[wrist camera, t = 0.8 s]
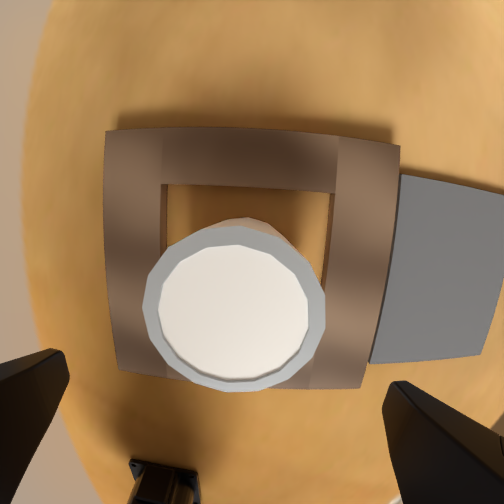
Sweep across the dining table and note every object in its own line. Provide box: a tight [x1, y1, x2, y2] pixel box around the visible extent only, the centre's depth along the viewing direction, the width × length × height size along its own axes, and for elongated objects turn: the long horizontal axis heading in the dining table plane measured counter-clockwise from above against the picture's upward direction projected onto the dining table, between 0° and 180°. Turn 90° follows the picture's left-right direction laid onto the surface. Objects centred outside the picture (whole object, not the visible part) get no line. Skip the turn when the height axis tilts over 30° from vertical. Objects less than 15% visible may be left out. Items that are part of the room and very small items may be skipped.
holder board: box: [103, 127, 400, 389], centre depth 17 cm, size 15×16×1 cm
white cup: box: [142, 217, 325, 392], centre depth 14 cm, size 7×7×7 cm
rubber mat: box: [368, 174, 504, 364], centre depth 17 cm, size 12×10×1 cm
